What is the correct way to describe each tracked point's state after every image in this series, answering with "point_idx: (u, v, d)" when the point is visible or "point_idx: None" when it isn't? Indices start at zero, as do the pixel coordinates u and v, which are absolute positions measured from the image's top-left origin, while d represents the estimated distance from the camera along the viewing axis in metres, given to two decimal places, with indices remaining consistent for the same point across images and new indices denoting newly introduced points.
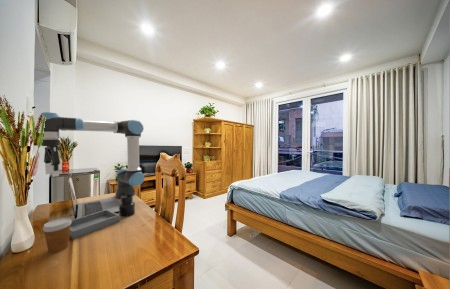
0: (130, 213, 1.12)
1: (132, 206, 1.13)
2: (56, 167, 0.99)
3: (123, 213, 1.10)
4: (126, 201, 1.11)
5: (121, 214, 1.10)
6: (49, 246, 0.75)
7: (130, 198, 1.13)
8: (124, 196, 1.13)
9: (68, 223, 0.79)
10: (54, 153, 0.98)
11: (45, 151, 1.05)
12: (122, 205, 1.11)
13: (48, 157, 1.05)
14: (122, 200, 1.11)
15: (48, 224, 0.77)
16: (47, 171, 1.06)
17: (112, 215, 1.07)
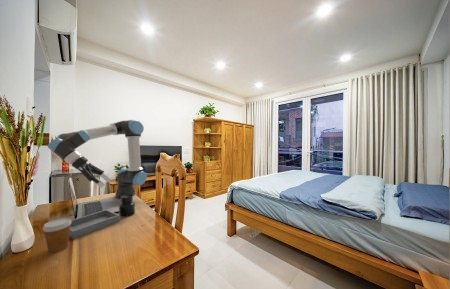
0: (130, 213, 1.12)
1: (132, 206, 1.13)
2: (95, 180, 1.01)
3: (123, 213, 1.10)
4: (126, 201, 1.11)
5: (121, 214, 1.10)
6: (49, 246, 0.75)
7: (130, 198, 1.13)
8: (124, 196, 1.13)
9: (68, 223, 0.79)
10: (83, 172, 0.99)
11: None
12: (122, 205, 1.11)
13: (94, 171, 1.11)
14: (122, 200, 1.11)
15: (48, 224, 0.77)
16: (106, 179, 1.15)
17: (112, 215, 1.07)
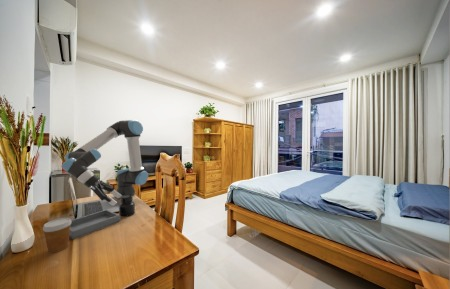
0: (130, 213, 1.12)
1: (132, 206, 1.13)
2: (107, 199, 1.02)
3: (123, 213, 1.10)
4: (126, 201, 1.11)
5: (121, 214, 1.10)
6: (49, 246, 0.75)
7: (130, 198, 1.13)
8: (124, 196, 1.13)
9: (68, 223, 0.79)
10: (95, 191, 1.01)
11: None
12: (122, 205, 1.11)
13: (105, 188, 1.13)
14: (122, 200, 1.11)
15: (48, 224, 0.77)
16: (117, 196, 1.17)
17: (112, 215, 1.07)
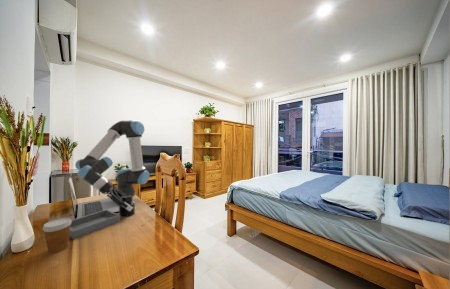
0: (130, 213, 1.12)
1: (132, 206, 1.13)
2: (124, 205, 1.08)
3: (123, 213, 1.10)
4: (126, 201, 1.11)
5: (121, 214, 1.10)
6: (49, 246, 0.75)
7: (130, 198, 1.13)
8: (124, 196, 1.13)
9: (68, 223, 0.79)
10: (112, 198, 1.05)
11: None
12: None
13: (119, 195, 1.15)
14: None
15: (48, 224, 0.77)
16: None
17: (112, 215, 1.07)
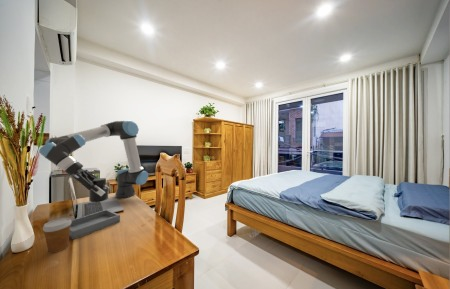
0: (102, 198, 0.98)
1: (104, 191, 1.00)
2: (94, 189, 0.95)
3: (94, 198, 0.97)
4: (97, 185, 0.98)
5: (91, 199, 0.97)
6: (49, 246, 0.75)
7: (102, 181, 1.00)
8: (95, 179, 1.00)
9: (68, 223, 0.79)
10: (80, 180, 0.92)
11: None
12: None
13: (90, 179, 1.02)
14: (93, 183, 0.98)
15: (48, 224, 0.77)
16: None
17: (112, 215, 1.07)
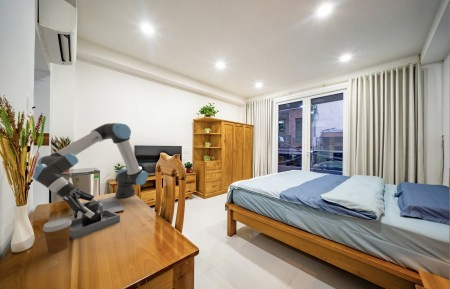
0: None
1: (97, 215, 0.97)
2: (82, 211, 0.90)
3: (86, 223, 0.94)
4: (90, 209, 0.95)
5: (83, 225, 0.94)
6: (49, 246, 0.75)
7: (95, 206, 0.97)
8: (88, 203, 0.97)
9: (68, 223, 0.79)
10: (69, 202, 0.89)
11: None
12: None
13: (83, 198, 1.01)
14: None
15: (48, 224, 0.77)
16: None
17: (112, 215, 1.07)
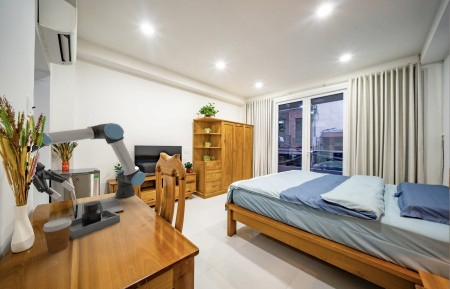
0: None
1: (97, 215, 0.97)
2: (48, 192, 0.87)
3: (86, 223, 0.94)
4: (90, 209, 0.95)
5: (83, 225, 0.94)
6: (49, 246, 0.75)
7: (95, 206, 0.97)
8: (88, 203, 0.97)
9: (68, 223, 0.79)
10: (34, 182, 0.86)
11: None
12: (85, 214, 0.95)
13: (54, 179, 0.98)
14: (85, 208, 0.95)
15: (48, 224, 0.77)
16: (69, 188, 1.02)
17: (112, 215, 1.07)
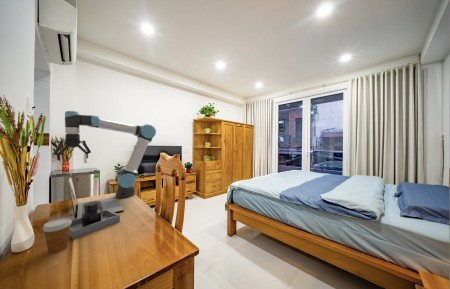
0: None
1: (97, 215, 0.97)
2: (57, 157, 1.15)
3: (86, 223, 0.94)
4: (90, 209, 0.95)
5: (83, 225, 0.94)
6: (49, 246, 0.75)
7: (95, 206, 0.97)
8: (88, 203, 0.97)
9: (68, 223, 0.79)
10: (58, 146, 1.16)
11: None
12: (85, 214, 0.95)
13: None
14: (85, 208, 0.95)
15: (48, 224, 0.77)
16: (84, 160, 1.28)
17: (112, 215, 1.07)
